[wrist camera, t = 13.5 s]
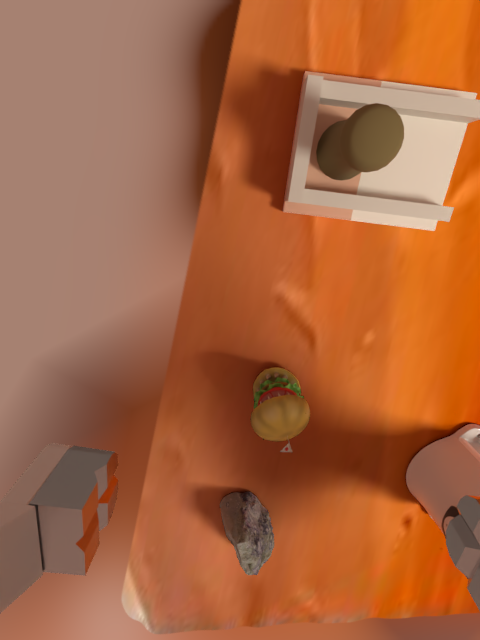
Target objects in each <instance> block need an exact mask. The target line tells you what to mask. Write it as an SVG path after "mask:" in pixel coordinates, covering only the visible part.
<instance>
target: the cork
mask: <svg viewBox="0 0 480 640" xmlns="http://www.w3.org/2000/svg"><path fill="white" fill-rule="evenodd" d="M403 139H404V125H403V122H402V119H401V117H400V115H399V114H398V113H397V111H396V110H395V109H393V108H391V107H390V106H388V105H384V104H379V103H374V104H369V105H365V106H363V107H361V108H360V109H358V110H356V111H355V112H354V113H353V114H352V115H351V116H350V117H349V118H348V119H347V120H343V121H338V122H336V123H334V124H333V125H331V126H329V127H328V128H327V129H326V130H325V131H324V133H323V134H322V136H321V138H320V140H319V141H318V145H317V150H316V155H317V162H318V164H319V167H320V169H321V170H322V171H323V173H324V174H325V175H326V176H328V177H330V178H331V179H334V180H340V181H342V180H348V179H351V178H353V177H355V176H357V175H358V174H360V173H361V172H372V171H378V170H379V169H381V168H383V167H385V166H387V165H388V164H389V163H390V162H391V161H392V160H393V159H394V158H395V157H396V155H397V154H398V152H399V150H400V149H401V146H402V143H403Z"/></svg>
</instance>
